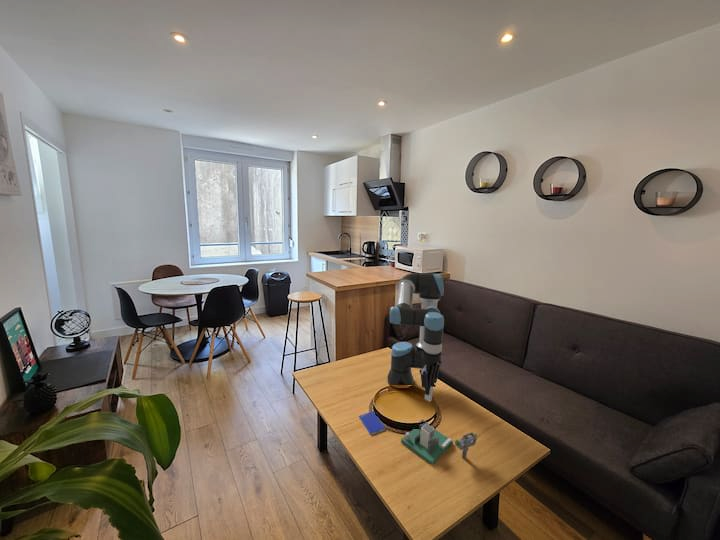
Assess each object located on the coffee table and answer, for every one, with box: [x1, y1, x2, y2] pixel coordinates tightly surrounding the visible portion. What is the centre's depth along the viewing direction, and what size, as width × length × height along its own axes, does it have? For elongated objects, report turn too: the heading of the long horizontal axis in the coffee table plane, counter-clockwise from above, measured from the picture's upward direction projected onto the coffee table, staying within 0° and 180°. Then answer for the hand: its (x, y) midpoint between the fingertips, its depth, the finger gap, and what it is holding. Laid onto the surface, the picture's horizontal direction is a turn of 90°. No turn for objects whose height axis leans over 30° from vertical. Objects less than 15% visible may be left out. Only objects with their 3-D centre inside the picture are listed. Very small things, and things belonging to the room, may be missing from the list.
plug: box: [420, 422, 435, 449], centre depth 129 cm, size 4×5×8 cm
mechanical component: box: [454, 432, 478, 460], centre depth 124 cm, size 3×10×10 cm, turn 113°
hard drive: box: [358, 410, 387, 436], centre depth 144 cm, size 2×8×12 cm
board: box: [400, 419, 454, 466], centre depth 132 cm, size 16×16×4 cm
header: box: [415, 434, 439, 454], centre depth 130 cm, size 7×7×4 cm
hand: (428, 399), depth 129 cm, fingers closed
